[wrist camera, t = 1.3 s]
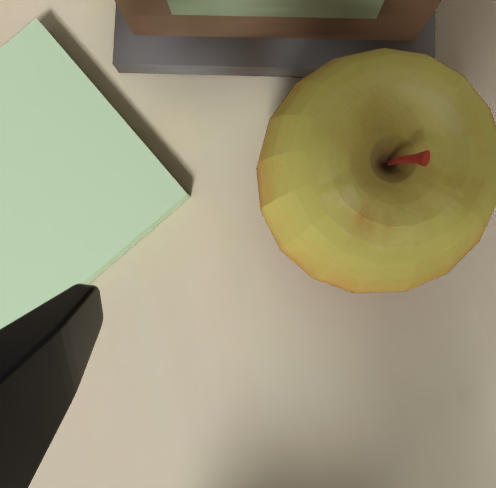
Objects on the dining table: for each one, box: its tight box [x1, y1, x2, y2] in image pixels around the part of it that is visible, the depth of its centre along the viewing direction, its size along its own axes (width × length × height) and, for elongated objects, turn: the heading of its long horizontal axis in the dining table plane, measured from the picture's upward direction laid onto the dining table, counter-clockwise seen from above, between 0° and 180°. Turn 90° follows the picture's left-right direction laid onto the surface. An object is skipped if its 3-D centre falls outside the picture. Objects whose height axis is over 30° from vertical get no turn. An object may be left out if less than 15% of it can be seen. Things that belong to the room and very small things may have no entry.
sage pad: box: [0, 18, 190, 329], centre depth 22 cm, size 12×12×1 cm
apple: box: [256, 48, 496, 293], centre depth 18 cm, size 10×10×8 cm
